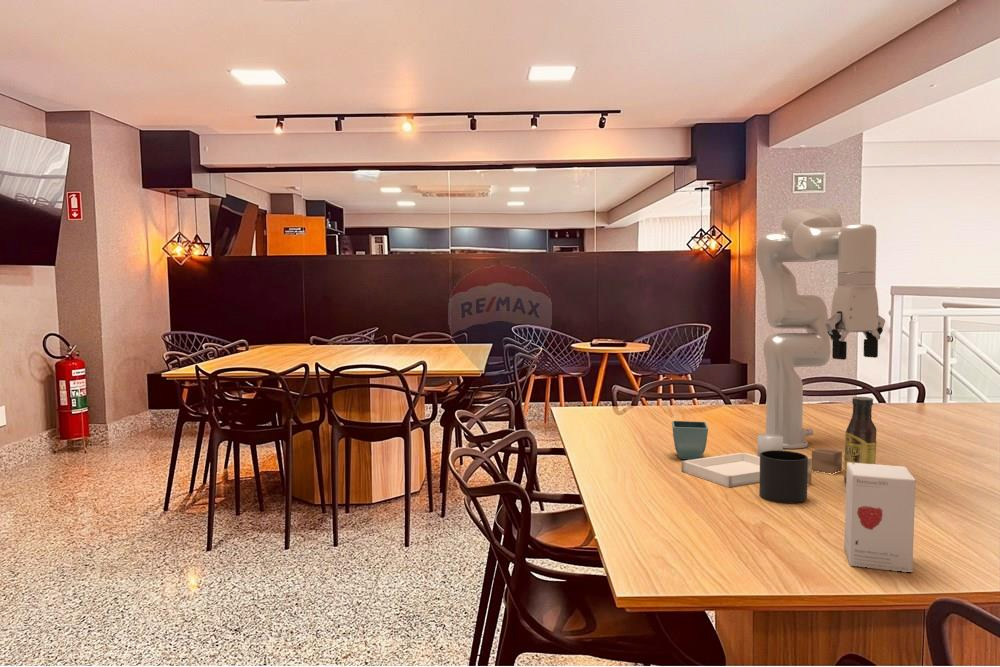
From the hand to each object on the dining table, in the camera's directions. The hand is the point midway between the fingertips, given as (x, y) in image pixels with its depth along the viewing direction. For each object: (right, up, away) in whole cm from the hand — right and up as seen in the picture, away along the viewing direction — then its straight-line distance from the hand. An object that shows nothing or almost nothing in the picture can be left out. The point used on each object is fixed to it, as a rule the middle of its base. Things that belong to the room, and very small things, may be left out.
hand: (855, 358), depth 156 cm
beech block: (-11, -29, +4) cm, 31 cm away
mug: (-18, -30, -6) cm, 35 cm away
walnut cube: (0, -28, +14) cm, 31 cm away
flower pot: (-29, -28, +29) cm, 49 cm away
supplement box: (-18, -32, -42) cm, 56 cm away
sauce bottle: (+1, -29, +1) cm, 29 cm away
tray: (-22, -28, +12) cm, 38 cm away
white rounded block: (-11, -28, +22) cm, 37 cm away
